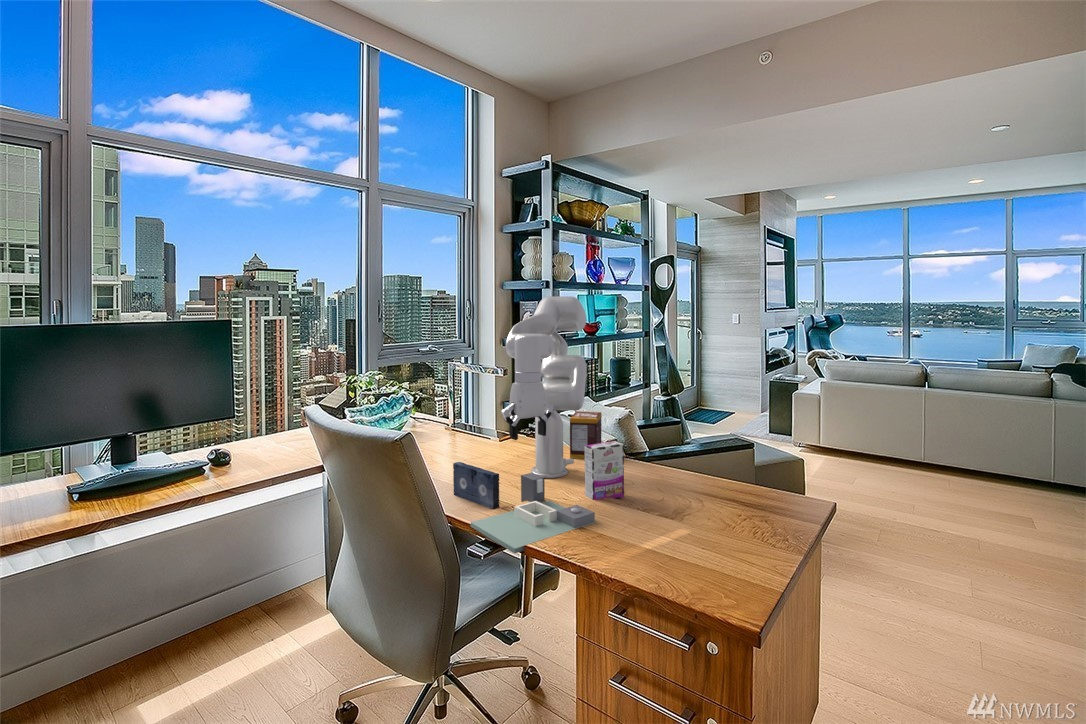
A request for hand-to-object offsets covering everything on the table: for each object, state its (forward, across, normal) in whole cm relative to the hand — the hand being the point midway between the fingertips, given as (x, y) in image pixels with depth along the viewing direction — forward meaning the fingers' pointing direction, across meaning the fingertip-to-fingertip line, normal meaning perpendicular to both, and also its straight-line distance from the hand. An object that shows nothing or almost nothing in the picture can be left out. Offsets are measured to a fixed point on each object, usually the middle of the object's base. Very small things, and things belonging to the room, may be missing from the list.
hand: (528, 437), depth 156 cm
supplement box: (+18, -49, -32) cm, 61 cm away
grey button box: (+18, -1, +21) cm, 28 cm away
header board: (+20, +8, +15) cm, 26 cm away
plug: (+19, -1, +1) cm, 19 cm away
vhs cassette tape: (+20, +12, -10) cm, 25 cm away
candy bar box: (+19, -20, +10) cm, 30 cm away
